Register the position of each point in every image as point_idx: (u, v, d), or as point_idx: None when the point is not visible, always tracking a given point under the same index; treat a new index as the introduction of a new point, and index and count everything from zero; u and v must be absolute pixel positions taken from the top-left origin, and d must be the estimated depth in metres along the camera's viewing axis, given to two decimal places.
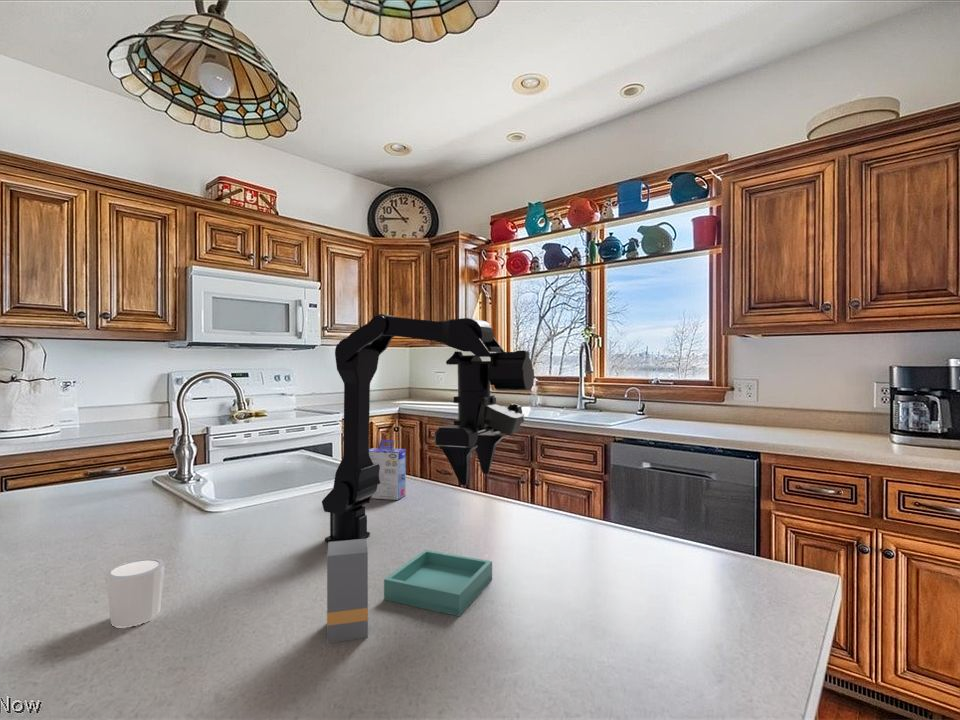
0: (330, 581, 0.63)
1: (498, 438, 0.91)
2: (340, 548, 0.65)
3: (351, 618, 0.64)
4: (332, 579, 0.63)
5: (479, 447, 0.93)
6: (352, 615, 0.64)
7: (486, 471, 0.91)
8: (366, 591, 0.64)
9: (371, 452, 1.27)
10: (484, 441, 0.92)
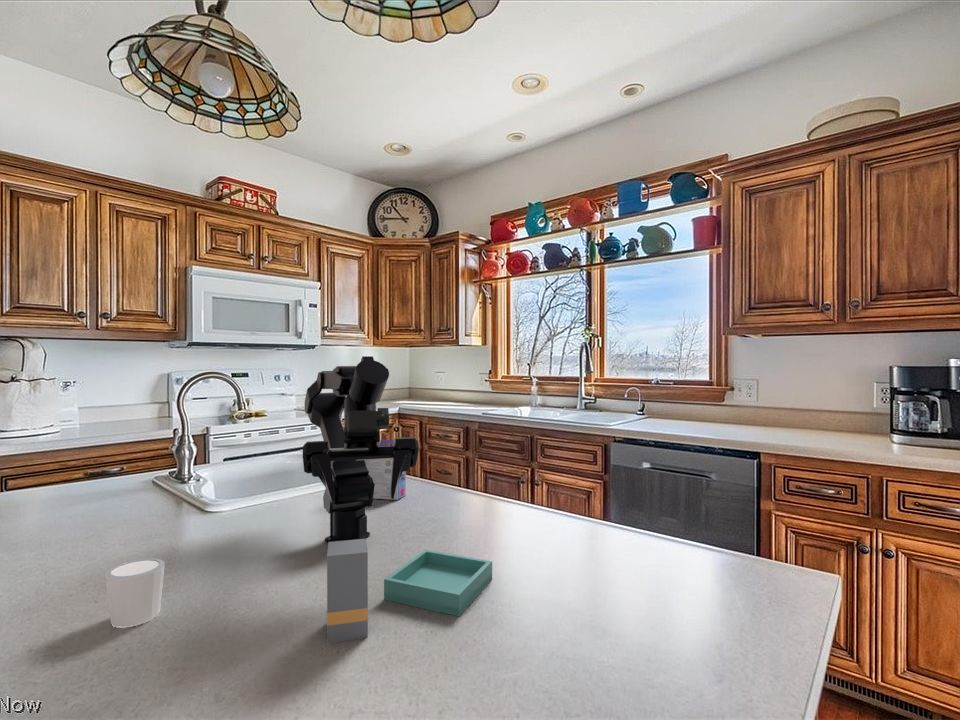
0: (330, 582, 0.63)
1: (394, 454, 0.83)
2: (340, 548, 0.65)
3: (351, 618, 0.64)
4: (332, 579, 0.63)
5: None
6: (352, 615, 0.64)
7: (391, 494, 0.80)
8: (366, 591, 0.64)
9: None
10: (392, 467, 0.84)
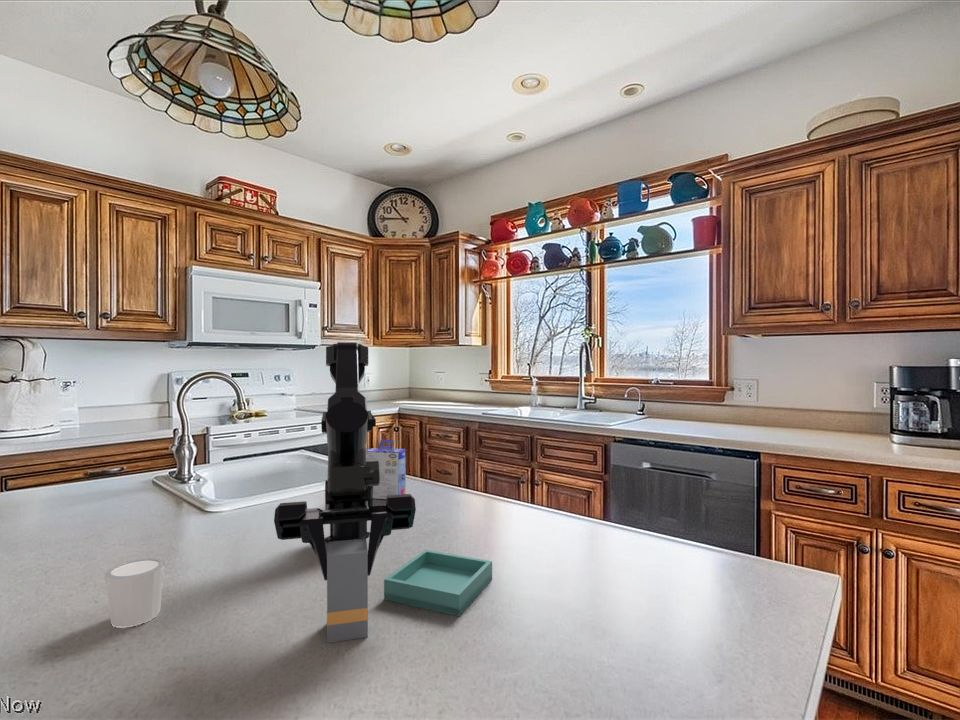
0: (330, 581, 0.63)
1: (371, 519, 0.68)
2: (340, 548, 0.65)
3: (351, 618, 0.64)
4: (332, 579, 0.63)
5: None
6: (352, 615, 0.64)
7: None
8: (366, 591, 0.64)
9: (371, 452, 1.27)
10: None
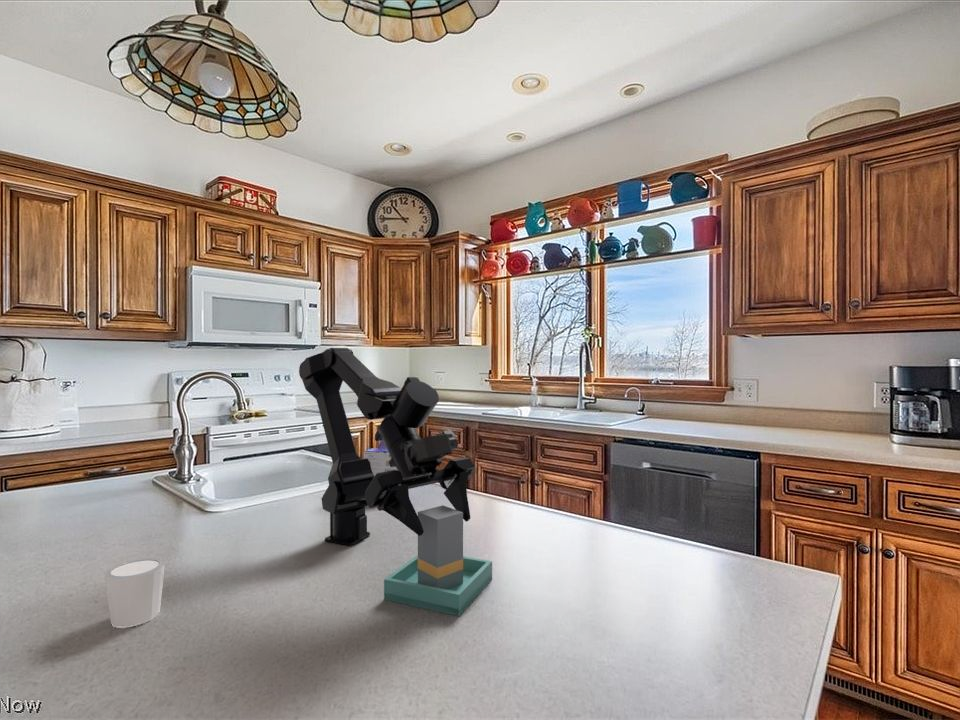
0: (439, 541, 0.74)
1: (458, 476, 0.82)
2: (436, 513, 0.77)
3: (453, 569, 0.76)
4: (441, 538, 0.74)
5: (452, 499, 0.83)
6: (453, 566, 0.76)
7: (466, 517, 0.80)
8: (462, 545, 0.77)
9: (371, 452, 1.27)
10: (452, 490, 0.83)
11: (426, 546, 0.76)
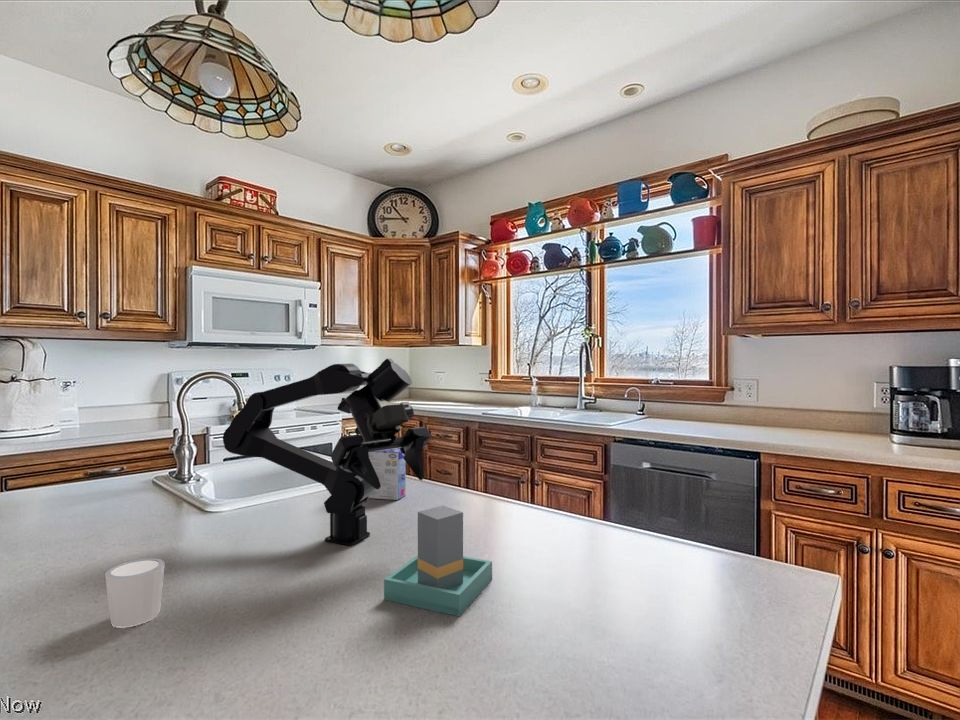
0: (439, 541, 0.74)
1: (415, 442, 0.94)
2: (436, 513, 0.77)
3: (453, 569, 0.76)
4: (441, 538, 0.74)
5: (409, 462, 0.95)
6: (453, 566, 0.76)
7: (420, 476, 0.92)
8: (462, 545, 0.77)
9: (371, 452, 1.27)
10: (410, 454, 0.95)
11: (426, 546, 0.76)
